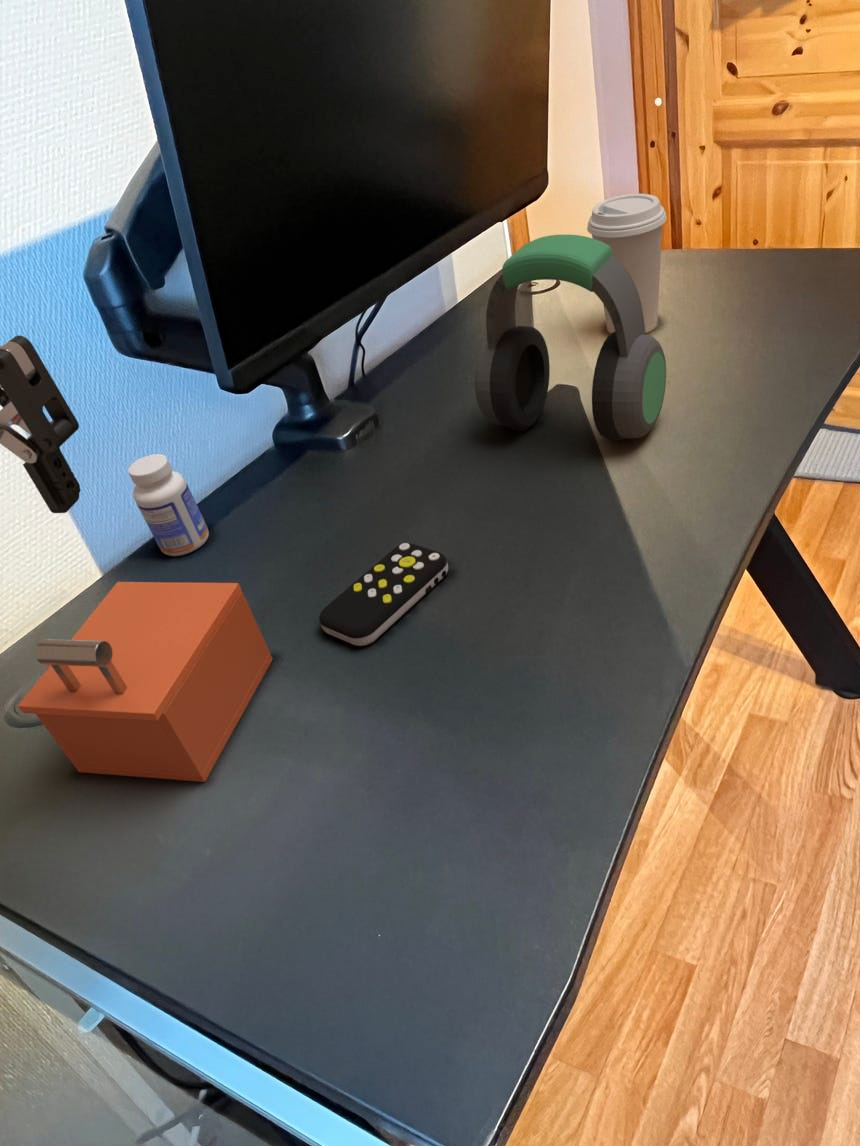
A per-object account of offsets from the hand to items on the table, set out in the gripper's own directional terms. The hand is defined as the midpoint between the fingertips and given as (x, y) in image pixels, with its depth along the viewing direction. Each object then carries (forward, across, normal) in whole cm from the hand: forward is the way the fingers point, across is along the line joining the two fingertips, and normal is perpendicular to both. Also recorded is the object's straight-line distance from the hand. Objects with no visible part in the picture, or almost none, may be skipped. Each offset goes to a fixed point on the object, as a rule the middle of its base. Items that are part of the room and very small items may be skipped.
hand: (11, 508), depth 56 cm
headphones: (+23, -28, -48) cm, 60 cm away
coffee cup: (+23, -32, -74) cm, 84 cm away
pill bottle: (+23, +12, -28) cm, 38 cm away
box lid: (+15, 0, -3) cm, 15 cm away
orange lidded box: (+23, 0, -3) cm, 23 cm away
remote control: (+23, -14, -18) cm, 33 cm away
